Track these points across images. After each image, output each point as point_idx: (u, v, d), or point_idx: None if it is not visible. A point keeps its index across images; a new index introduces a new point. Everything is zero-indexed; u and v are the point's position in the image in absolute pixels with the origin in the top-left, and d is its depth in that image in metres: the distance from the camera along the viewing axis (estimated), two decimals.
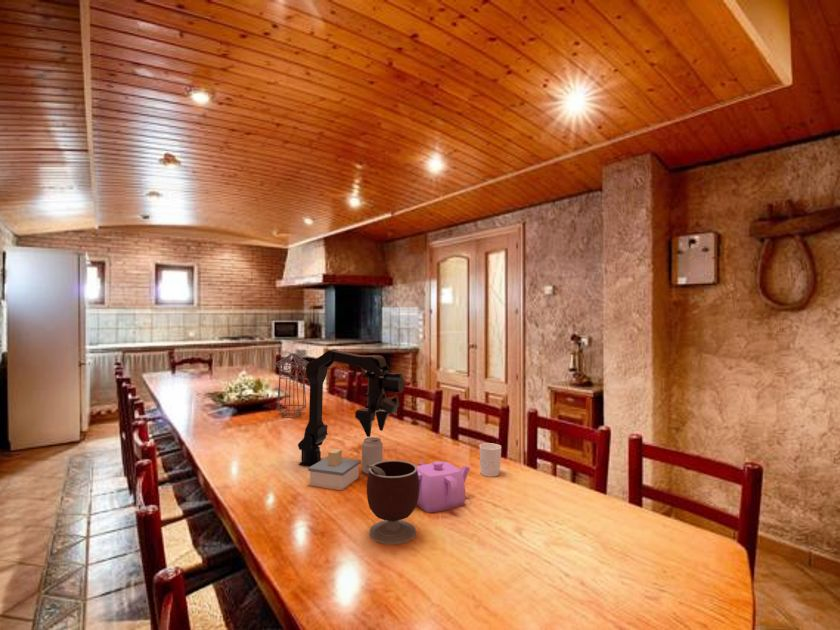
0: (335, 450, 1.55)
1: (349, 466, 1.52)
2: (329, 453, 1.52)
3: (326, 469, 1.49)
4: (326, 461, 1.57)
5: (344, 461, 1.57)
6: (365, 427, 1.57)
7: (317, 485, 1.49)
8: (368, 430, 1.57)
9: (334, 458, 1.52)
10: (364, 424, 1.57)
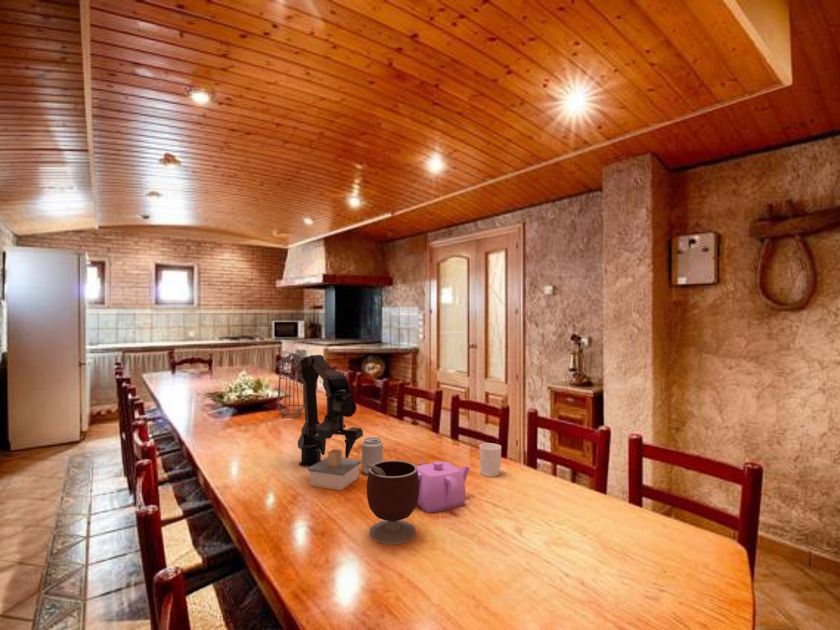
0: (335, 450, 1.55)
1: (349, 466, 1.52)
2: (329, 453, 1.52)
3: (326, 469, 1.49)
4: (326, 461, 1.57)
5: (344, 461, 1.57)
6: None
7: (317, 485, 1.49)
8: None
9: (334, 458, 1.52)
10: None
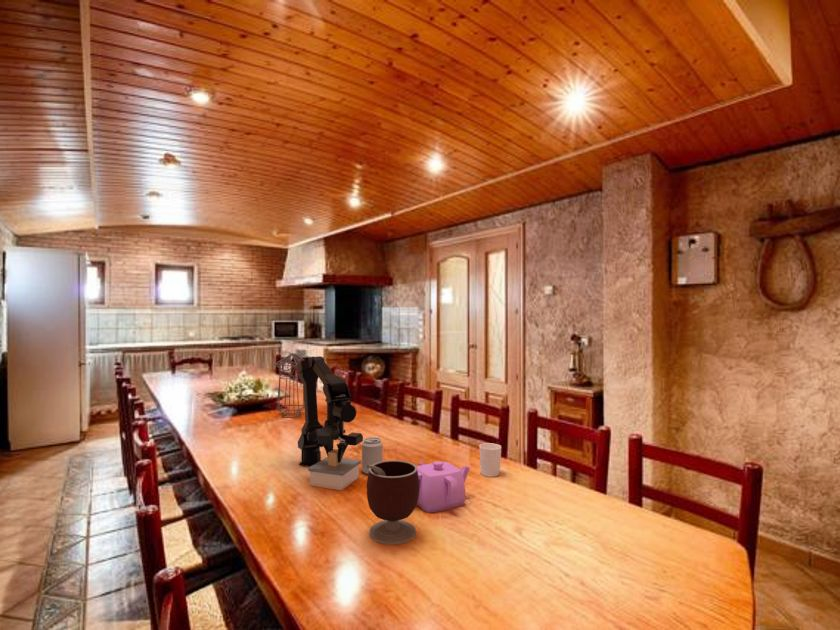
0: (335, 450, 1.55)
1: (349, 466, 1.52)
2: (329, 453, 1.52)
3: (326, 469, 1.49)
4: (326, 461, 1.57)
5: (344, 461, 1.57)
6: None
7: (317, 485, 1.49)
8: None
9: (334, 458, 1.52)
10: None
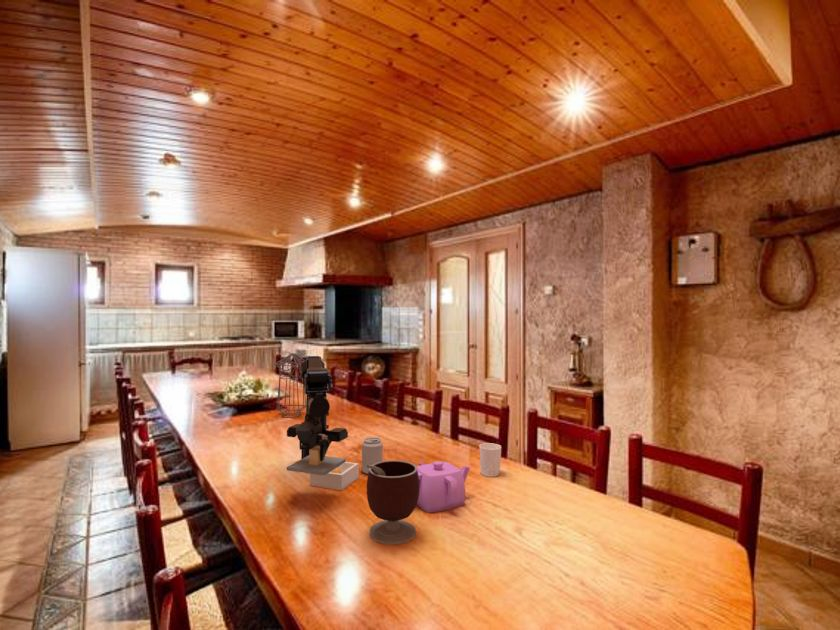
0: (317, 447, 1.40)
1: (332, 465, 1.37)
2: (310, 450, 1.38)
3: (306, 468, 1.34)
4: (307, 459, 1.42)
5: (327, 459, 1.42)
6: None
7: (317, 485, 1.49)
8: None
9: (316, 456, 1.37)
10: None
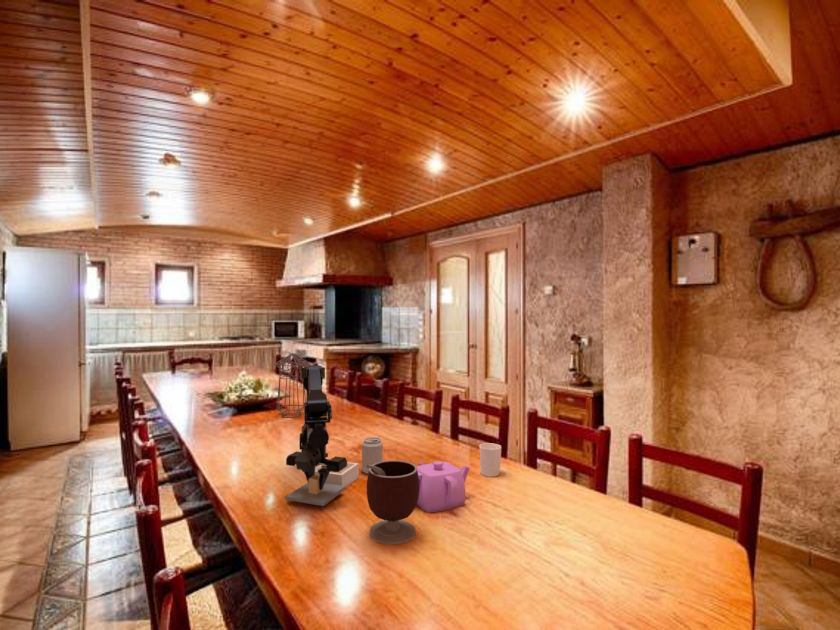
0: (316, 476, 1.40)
1: (332, 494, 1.37)
2: (310, 479, 1.38)
3: (306, 498, 1.34)
4: (307, 487, 1.42)
5: (326, 487, 1.42)
6: None
7: None
8: None
9: (315, 485, 1.37)
10: None
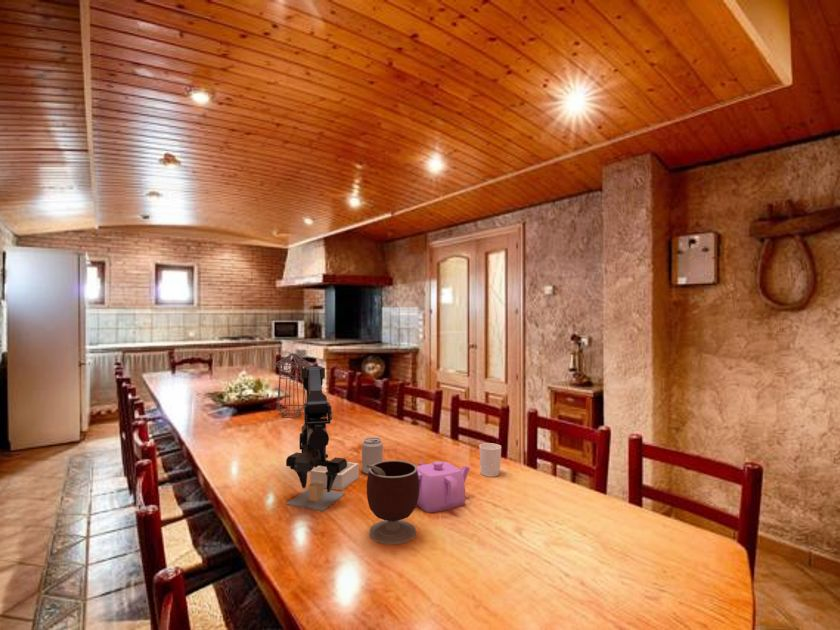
0: (316, 483, 1.40)
1: (332, 501, 1.37)
2: (310, 486, 1.38)
3: (306, 505, 1.34)
4: (307, 494, 1.42)
5: (326, 494, 1.42)
6: None
7: None
8: None
9: (315, 492, 1.37)
10: None
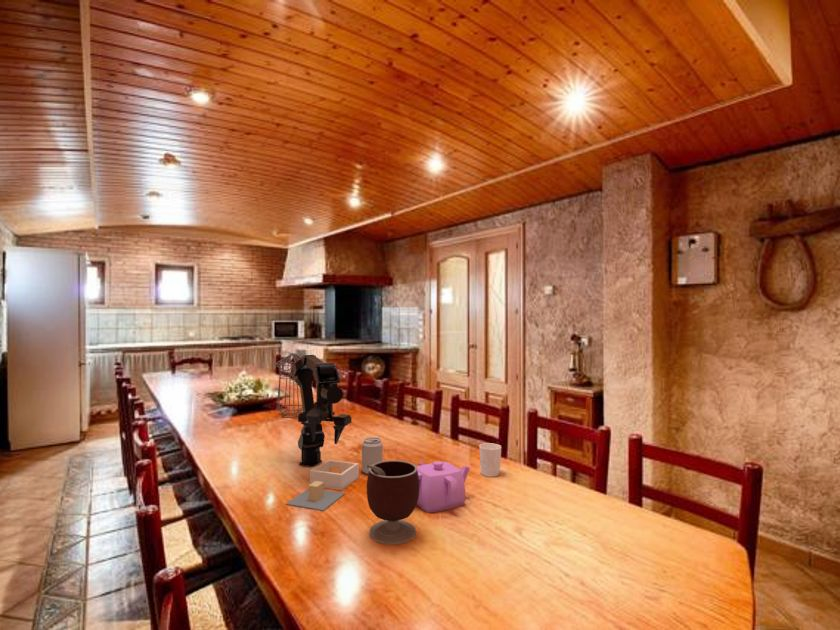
0: (316, 483, 1.40)
1: (332, 501, 1.37)
2: (309, 486, 1.38)
3: (306, 505, 1.34)
4: (307, 494, 1.42)
5: (326, 494, 1.42)
6: None
7: None
8: None
9: (315, 492, 1.37)
10: None
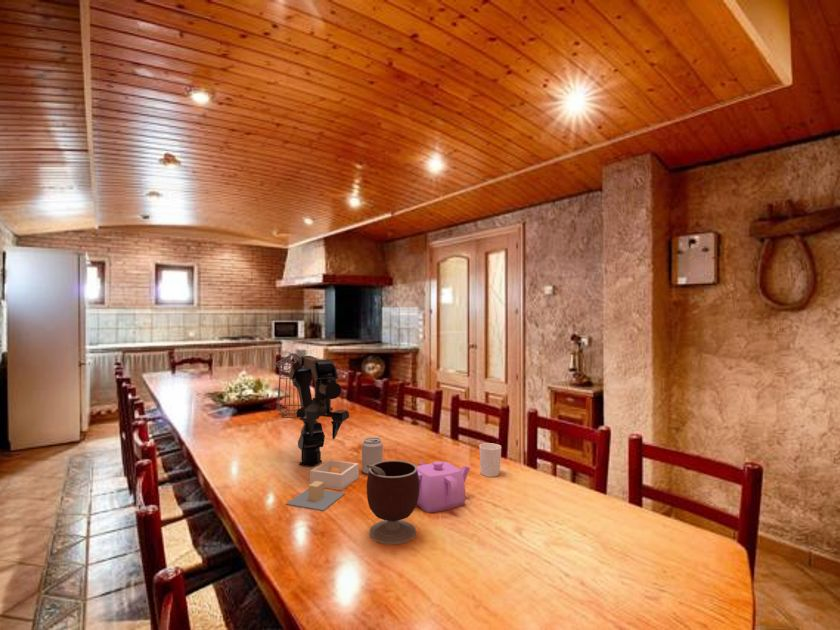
0: (316, 483, 1.40)
1: (332, 501, 1.37)
2: (310, 486, 1.38)
3: (306, 505, 1.34)
4: (307, 494, 1.42)
5: (326, 494, 1.42)
6: None
7: None
8: None
9: (315, 492, 1.37)
10: None
